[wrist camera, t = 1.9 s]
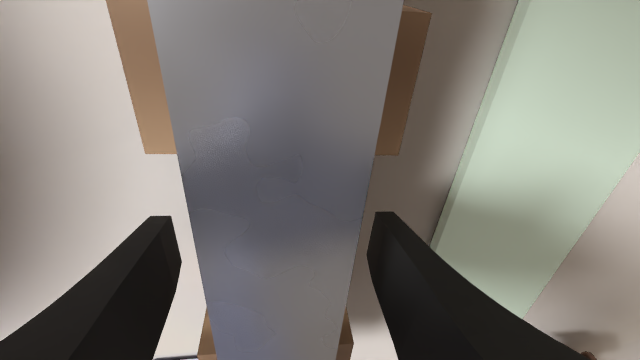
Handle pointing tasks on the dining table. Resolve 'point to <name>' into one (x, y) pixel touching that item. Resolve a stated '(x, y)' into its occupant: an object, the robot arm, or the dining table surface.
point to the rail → (275, 157)
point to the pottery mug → (588, 355)
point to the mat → (544, 145)
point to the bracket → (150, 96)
